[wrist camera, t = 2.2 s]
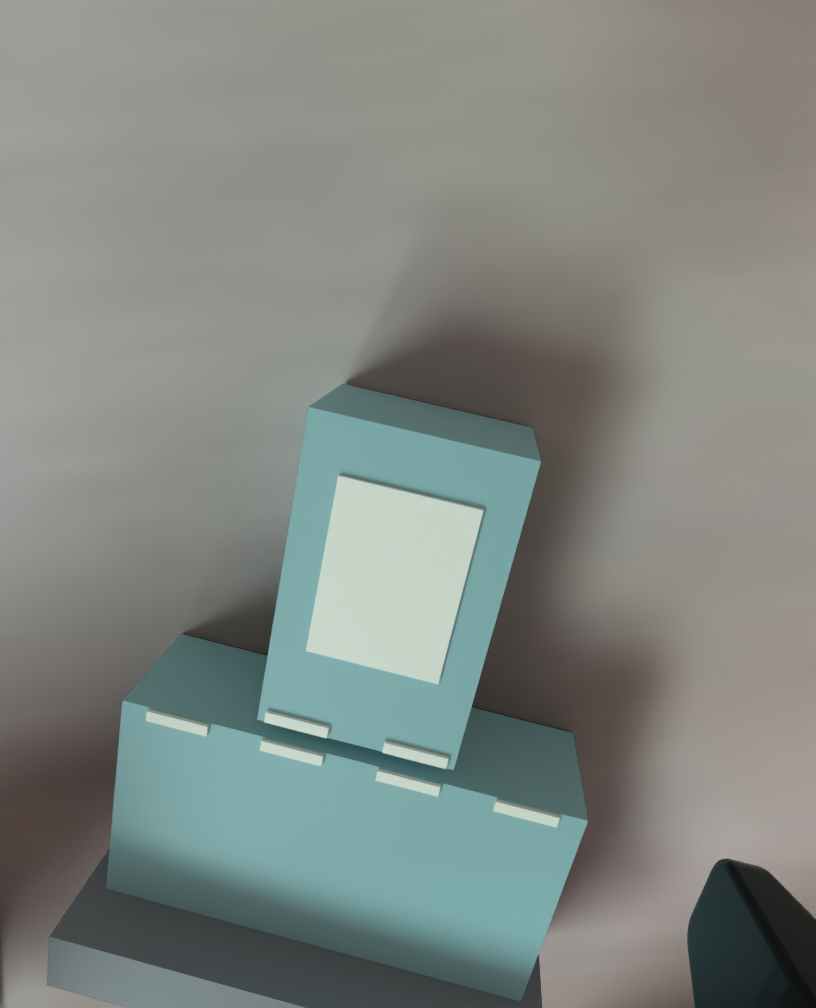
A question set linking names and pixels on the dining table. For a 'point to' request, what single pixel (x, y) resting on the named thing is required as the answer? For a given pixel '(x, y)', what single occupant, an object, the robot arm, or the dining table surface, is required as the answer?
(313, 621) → the teal labeled box
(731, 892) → the robot arm
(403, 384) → the dining table surface
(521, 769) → the teal tabbed box
